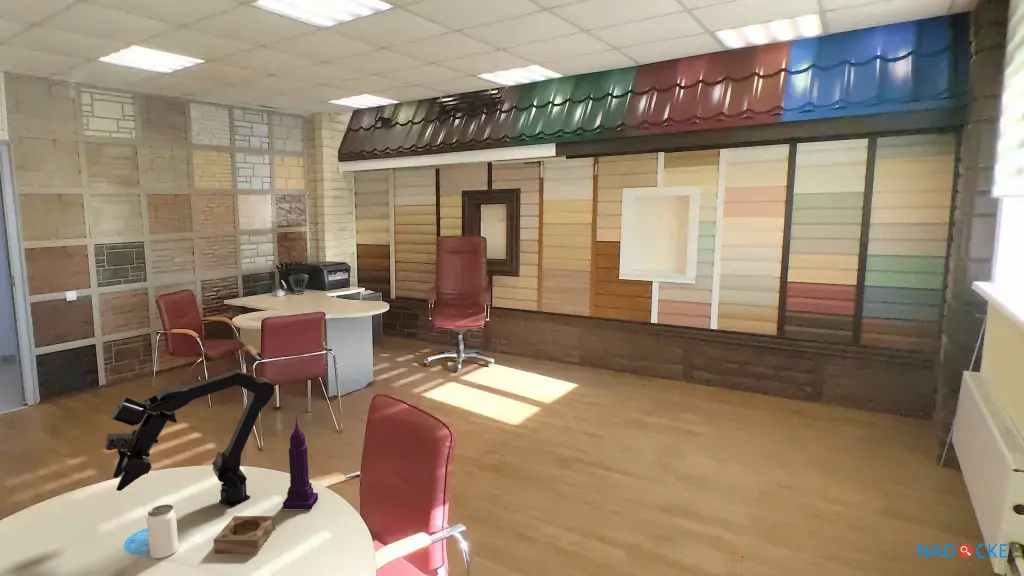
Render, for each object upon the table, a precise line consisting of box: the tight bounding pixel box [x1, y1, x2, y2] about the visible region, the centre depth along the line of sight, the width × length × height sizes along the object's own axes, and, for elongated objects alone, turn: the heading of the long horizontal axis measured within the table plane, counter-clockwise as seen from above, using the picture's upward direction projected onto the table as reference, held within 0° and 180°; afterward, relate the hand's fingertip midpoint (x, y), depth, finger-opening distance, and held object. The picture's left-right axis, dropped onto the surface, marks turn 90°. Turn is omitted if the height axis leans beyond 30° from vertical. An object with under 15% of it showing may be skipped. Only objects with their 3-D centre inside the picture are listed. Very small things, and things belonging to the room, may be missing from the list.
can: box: [146, 504, 179, 560], centre depth 150 cm, size 6×6×12 cm
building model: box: [282, 416, 319, 510], centre depth 172 cm, size 9×6×30 cm
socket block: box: [213, 515, 276, 555], centre depth 155 cm, size 11×11×4 cm
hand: (116, 483), depth 156 cm, fingers open, 9 cm apart
